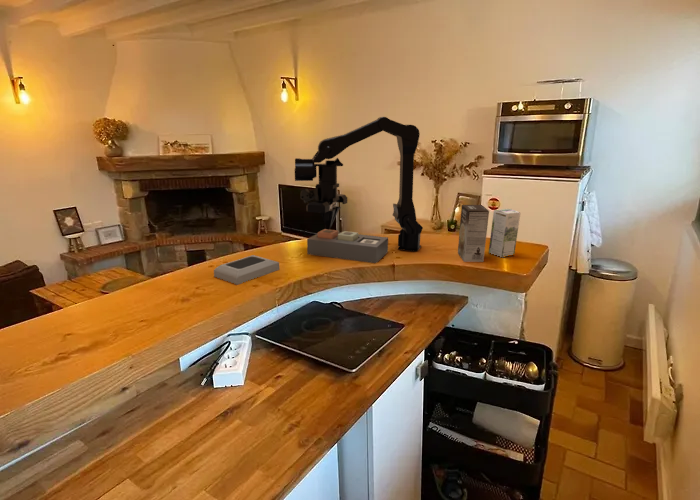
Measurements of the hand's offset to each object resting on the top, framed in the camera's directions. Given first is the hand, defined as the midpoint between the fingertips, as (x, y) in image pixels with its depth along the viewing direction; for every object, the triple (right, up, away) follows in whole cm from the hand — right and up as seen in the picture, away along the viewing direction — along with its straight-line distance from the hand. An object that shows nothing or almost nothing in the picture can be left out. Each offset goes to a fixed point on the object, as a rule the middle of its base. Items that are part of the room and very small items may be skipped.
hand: (328, 229), depth 135 cm
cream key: (+13, -7, -3) cm, 15 cm away
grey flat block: (-21, -14, -19) cm, 31 cm away
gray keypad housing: (+6, -8, 0) cm, 10 cm away
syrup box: (+56, -8, 0) cm, 56 cm away
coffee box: (+45, -9, -3) cm, 46 cm away
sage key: (+6, -4, -1) cm, 8 cm away
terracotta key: (0, -4, +1) cm, 4 cm away
